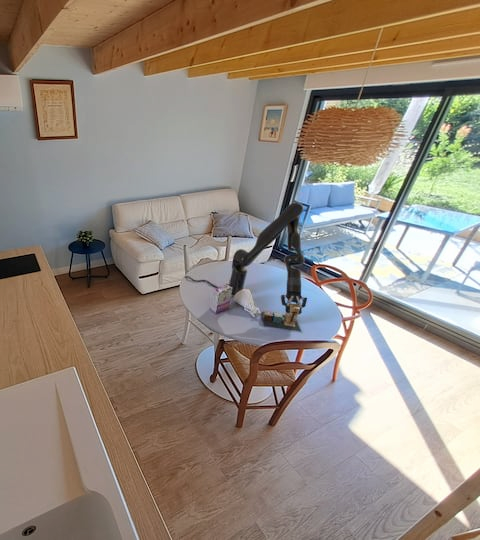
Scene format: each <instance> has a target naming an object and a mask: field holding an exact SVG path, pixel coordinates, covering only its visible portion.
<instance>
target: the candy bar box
mask: <svg viewBox="0 0 480 540" xmlns="http://www.w3.org/2000/svg"><path fill="white" fill-rule="evenodd" d="M218 287H219V288H216V287H215V288H214V291H213V297H212V302H211V308H210V310H211V311H212V312H213V313H215V314H219V313H221V312H224V311H226V310H229V309H230V304H231V299H232V296H231V294H232V289H233V288H232V287H231V286H229V285H226V284H224V285H222V286H218Z"/></svg>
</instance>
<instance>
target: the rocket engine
mask: <svg viewBox="0 0 480 540" xmlns="http://www.w3.org/2000/svg"><path fill="white" fill-rule="evenodd" d="M233 301H234V302H235V303H237V304H238V305H240V306H241V307H243V310H244V311H245V312H248V313H249V314H250V315H251V316H252V318H256V316H259V315H260V316H261V314H262V313H261V312H262V311H261V310H260V308H259V307H257V306H255V301H254V298H253V295H252V293H251V291H250V289H248V288H243V290H240V291H239V292H237V293H236V294H235V296H234V297H233Z"/></svg>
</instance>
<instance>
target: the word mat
mask: <svg viewBox="0 0 480 540" xmlns="http://www.w3.org/2000/svg"><path fill="white" fill-rule="evenodd" d="M260 312H261V313H262V314H263V312H262V311H260ZM262 314H261V315H260V316H261V320H262V323H263V327H266V328H267V327H268V328H273V329H281V330H288V331H292V332H293V331H295V332H302V330H301V327H300V326H299V323H298V321H297V320H296V321H295V324H294V325H291V324H286V323H285V320H284V318H285V315H286V314H282V316H283V319H282V322H281V323H276V322H273V321H272V320H271V322H269V321H263V318H262Z"/></svg>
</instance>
